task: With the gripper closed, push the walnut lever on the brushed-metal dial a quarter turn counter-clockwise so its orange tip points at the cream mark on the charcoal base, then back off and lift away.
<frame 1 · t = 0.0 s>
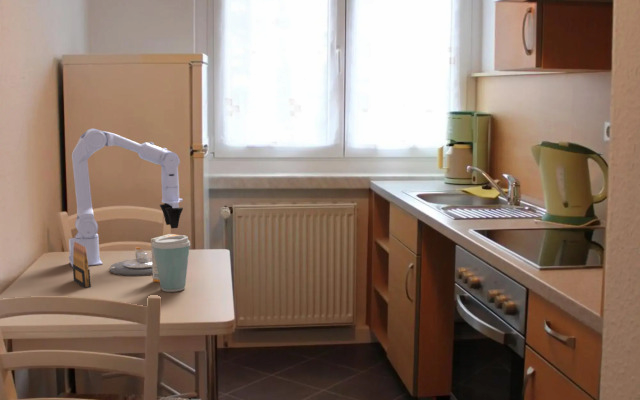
hand: (171, 226, 262), 10 cm above the table, tool pointing down, fingers open, 7 cm apart
dial: (141, 257, 245), point 3 cm above the table, hinge at 0.0°
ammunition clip: (82, 284, 226), on the table
dial base: (142, 268, 245), on the table
disposable coffee cup: (173, 289, 218), on the table
supplement box: (167, 280, 230), on the table
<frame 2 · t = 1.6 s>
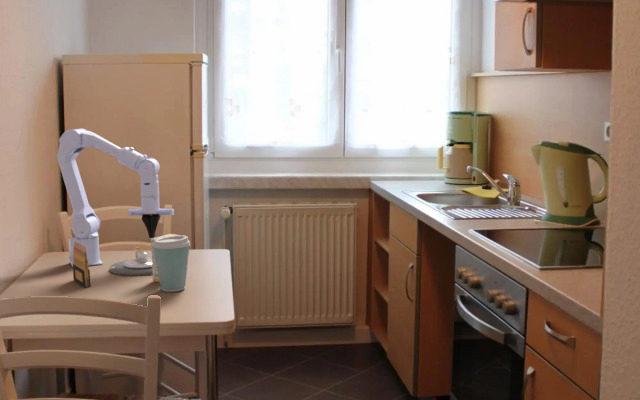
hand: (152, 237, 250), 9 cm above the table, tool pointing down, fingers closed
nothing on the table moved.
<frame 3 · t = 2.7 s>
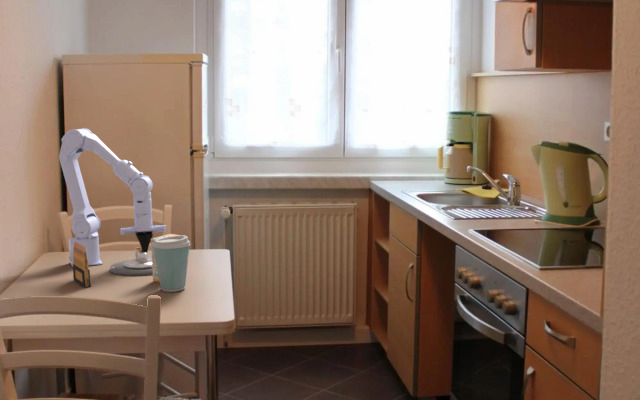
hand: (144, 254, 250), 3 cm above the table, tool pointing down, fingers closed
dial: (141, 257, 245), point 3 cm above the table, hinge at 0.0°, touching gripper
everything else where it was.
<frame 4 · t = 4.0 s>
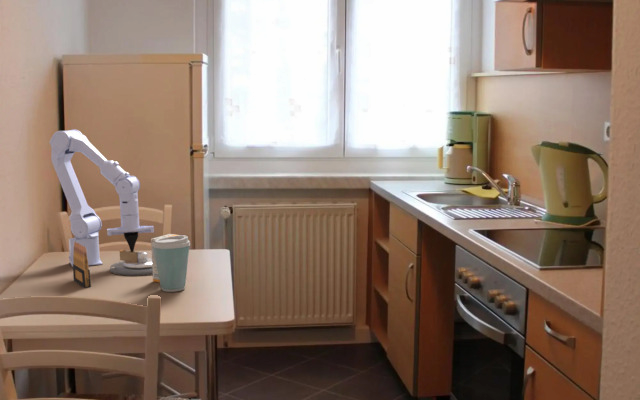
hand: (132, 255, 248), 3 cm above the table, tool pointing down, fingers closed, pressing on dial
dial: (139, 258, 245), point 3 cm above the table, hinge at 41.0°, touching gripper
everything else where it was.
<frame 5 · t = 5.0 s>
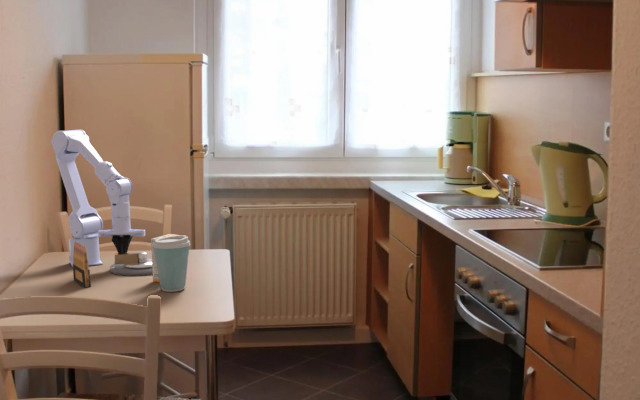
hand: (123, 258, 245), 3 cm above the table, tool pointing down, fingers closed
dial: (138, 258, 244), point 3 cm above the table, hinge at 82.0°, touching gripper
everything else where it was.
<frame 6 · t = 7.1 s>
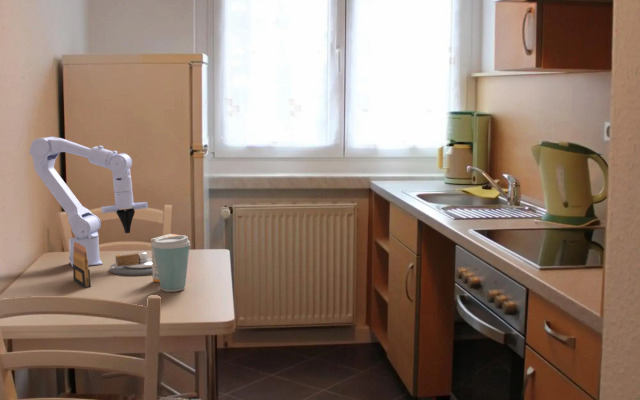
hand: (127, 232, 249), 10 cm above the table, tool pointing down, fingers closed
dial: (138, 258, 243), point 3 cm above the table, hinge at 102.0°
everything else where it was.
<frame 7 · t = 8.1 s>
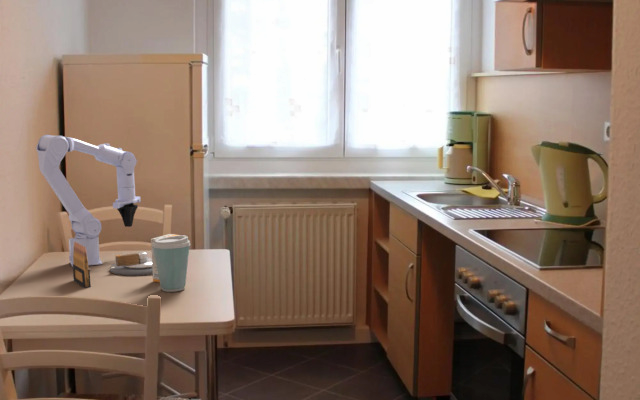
hand: (128, 226, 261), 10 cm above the table, tool pointing down, fingers closed
nothing on the table moved.
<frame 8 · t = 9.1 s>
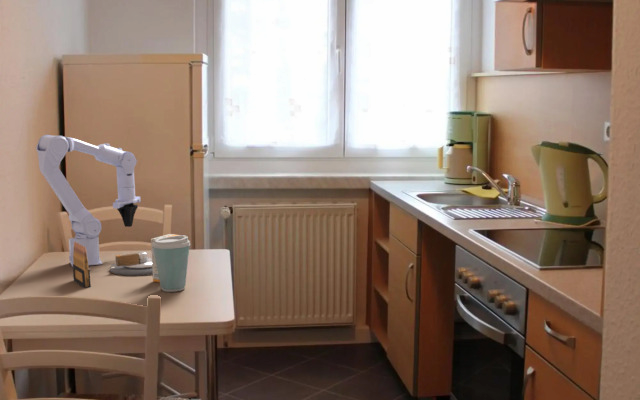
hand: (128, 226, 261), 10 cm above the table, tool pointing down, fingers closed
nothing on the table moved.
at the end: dial at +102° (first picture: +0°); the gripper is holding nothing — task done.
